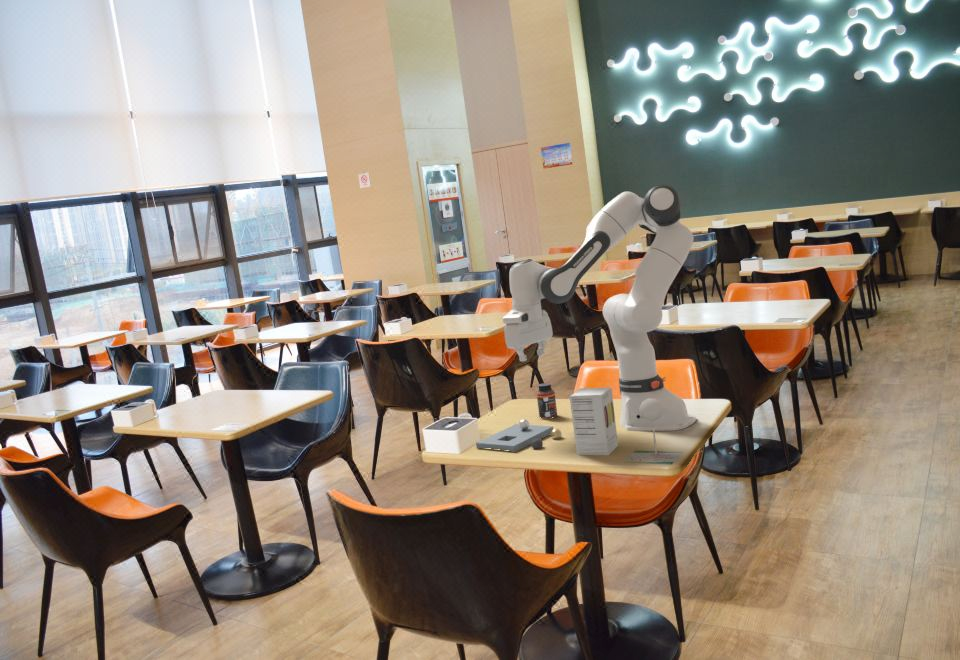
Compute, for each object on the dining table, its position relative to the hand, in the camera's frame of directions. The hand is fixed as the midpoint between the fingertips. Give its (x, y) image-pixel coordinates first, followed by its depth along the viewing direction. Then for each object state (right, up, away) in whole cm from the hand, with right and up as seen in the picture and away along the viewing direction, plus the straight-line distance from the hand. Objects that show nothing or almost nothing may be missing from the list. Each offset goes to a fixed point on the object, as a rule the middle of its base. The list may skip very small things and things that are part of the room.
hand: (532, 358), depth 245 cm
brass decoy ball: (+6, -22, -11) cm, 25 cm away
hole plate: (-5, -25, -8) cm, 27 cm away
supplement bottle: (+6, -20, +16) cm, 27 cm away
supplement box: (+16, -25, -28) cm, 40 cm away
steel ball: (-3, -20, -5) cm, 21 cm away
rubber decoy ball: (0, -24, -19) cm, 30 cm away
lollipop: (+30, -24, -38) cm, 54 cm away
